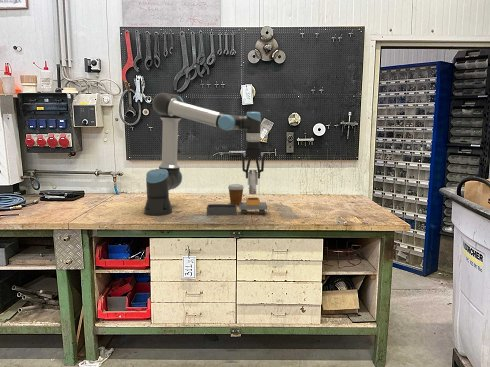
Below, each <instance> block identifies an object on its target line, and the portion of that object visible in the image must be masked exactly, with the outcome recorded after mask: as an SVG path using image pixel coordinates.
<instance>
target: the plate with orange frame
mask: <svg viewBox="0 0 490 367" xmlns="http://www.w3.org/2000/svg"><path fill="white" fill-rule="evenodd" d="M238 207H239V208H238V210H239V211H240V213H241V215H243V214H244V215H243V216H245V215H247V213H248V210H253V211H254V210H256V211H257V210H258V212H259V214H260V215H261V216H264V215H265V214H266V210H268V204H267V202H264V201H263V202H261V201H260V197H246V200H245V202H239V206H238Z"/></svg>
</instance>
